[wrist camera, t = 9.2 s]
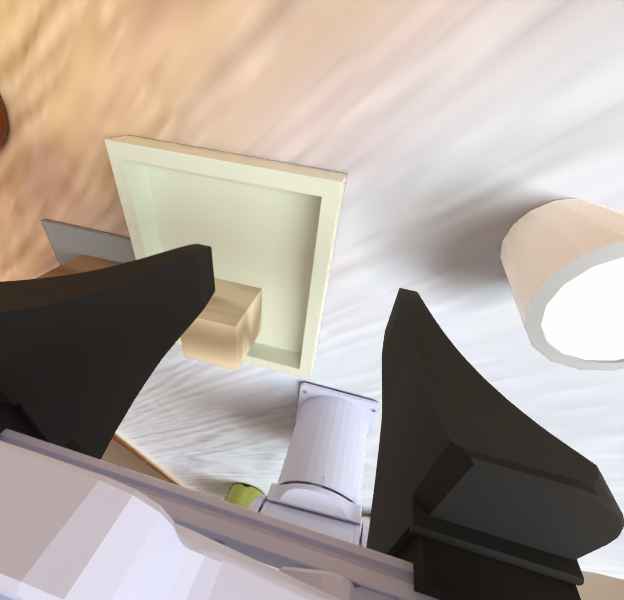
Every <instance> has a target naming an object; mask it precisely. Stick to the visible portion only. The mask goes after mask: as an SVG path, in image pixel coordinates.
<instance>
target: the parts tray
mask: <svg viewBox="0 0 624 600" xmlns="http://www.w3.org/2000/svg"><path fill="white" fill-rule="evenodd" d="M104 140H105V144H106V148H107V152H108V155H109V159H110V163H111V167H112V171H113V174H114V178H115V182H116V186H117V190H118V193H119V197H120V201H121V205H122V209H123V212H124V216H125V220H126V224H127V228H128V231H129V235H130V239H131V243H132V247H133V250H134V254H135V258H136V260H138V259H141V258H145V257H148V256H152V255H155V254H158V253H162V252H165V251H169V250H172V249H175V248H179V247H183V246H187V245H191V244H201V245H206V246H210V247H211V249H212V259H213V270H214V278H218V279H222V280H227V281H231V282H235V283H240V284H244V285H248V286H252V287H257V288H261V289H262V317H261V331H260V333H259V335H258V336H257V338H256V340H255V342H254V343H253V345H252V347H251V348H250V350H249V352H248V354H247V355H246V357H245V359H244V361H243V362H245V363H249V364H252V365H256V366H260V367H264V368H267V369H271V370H275V371H279V372H282V373H286V374H290V375H294V376H297V377H301V378H305V379H309V380H310V376H311V373H312V370H313V367H314V364H315V359H316V353H317V348H318V342H319V336H320V330H321V324H322V318H323V312H324V307H325V301H326V295H327V289H328V283H329V277H330V271H331V266H332V260H333V254H334V248H335V242H336V236H337V230H338V225H339V219H340V213H341V207H342V201H343V195H344V190H345V184H346V178H347V173H342V172H336V171H331V170H325V169H319V168H314V167H308V166H302V165H296V164H291V163H285V162H279V161H274V160H268V159H262V158H257V157H251V156H245V155H240V154H234V153H228V152H223V151H217V150H211V149H205V148H200V147H194V146H188V145H183V144H177V143H171V142H166V141H160V140H154V139H149V138H143V137H137V136H132V135H128V136H122V137H116V138H110V139H104ZM175 344H178V345H181V346H182V343H181V338H179V339H178V340H177V341H176V343H175Z"/></svg>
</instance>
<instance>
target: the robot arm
mask: <svg viewBox="0 0 624 600" xmlns="http://www.w3.org/2000/svg"><path fill="white" fill-rule="evenodd" d="M214 292H215V281H214V270H213V259H212V249H211V247H210V246H206V245H201V244H191V245H187V246H183V247H179V248H175V249H172V250H169V251H165V252H162V253H158V254H155V255H152V256H148V257H145V258H141V259H138V260H134V261H130V262H126V263H123V264H119V265H115V266H111V267H107V268H102V269H98V270H92V271H87V272H82V273H76V274H70V275H62V276H55V277H47V278H40V279H30V280H19V281H6V282H0V600H581V598H580V596H579V593H578V590H577V587H576V585H582V584H583V583H584V577H583V575H582V572H581V569H580V567H579V564H578V561H577V559H578V558H580V557H582V556H584V555H586V554H588V553H590V552H592V551H594V550H597V549H599V548H601V547H603V546H605V545H607V544H609V543H610V542H612V541H613V540H615V539H616V538H617V537H618V536H619V535H620V533H621V531H622V529H623V527H624V518H623V514H622V512H621V510H620V508H619V507H618V505H617V503H616V501H615V499H614V497H613V495H612V493H611V491H610V489H609V488H608V486H607V484H606V482H605V480H604V478H603V476H602V474H601V472H600V471H599V469H598V467H597V466H596V465H595V464H594V463H592V462H591V461H589V460H588V459H586V458H585V457H584V456H582V455H581V454H579V453H578V452H576V451H575V450H573V449H572V448H571V447H569V446H568V445H566V444H565V443H563V442H562V441H560V440H559V439H558V438H556V437H555V436H553V435H552V434H550V433H549V432H548V431H546V430H545V429H544V428H542V427H541V426H540V425H538V424H537V423H536V422H535V421H533V420H532V419H531V418H529V417H528V416H527V415H526V414H524V413H523V412H522V411H521V410H519V409H518V408H517V407H516V406H515V405H513V404H512V403H511V402H510V401H509V400H507V399H506V398H505V397H504V396H503V395H502V394H501V393H500V392H498V391H497V390H496V389H495V388H494V387H493V386H492V385H491V384H490V383H488V382H487V381H486V380H485V379H484V378H483V377H482V376H481V375H480V374H479V373H478V372H477V371H476V370H475V369H474V367H473V366H472V365H471V364H470V363H469V362H468V361H467V360H466V359H465V358H464V357H463V356H462V354H461V353H460V352H459V351H458V350H457V349H456V347H455V346H454V345H453V344H452V342H451V341H450V340H449V339H448V337H447V336H446V335H445V333H444V332H443V331H442V329H441V328H440V326H439V325H438V323H437V322H436V321H435V319H434V318H433V316H432V315H431V313H430V311H429V310H428V308H427V307H426V305H425V304H424V302H423V300H422V299H421V297H420V295H419V294H418V292H416V291H411V290H406V289H402V288H399V291H398V294H397V297H396V300H395V303H394V306H393V309H392V312H391V315H390V318H389V321H388V324H387V327H386V330H385V335H384V342H383V350H382V422H381V432H380V442H379V452H378V460H377V469H376V478H375V486H374V494H373V502H372V510H371V517H370V523H369V522H367V521H363V522H362V527H361V535H360V525H361V514H362V506H361V495H362V484H363V474H364V463H365V453H366V442H367V438H368V435H369V433H370V430H371V428H372V426H373V423H374V421H375V418H376V416H377V413H378V411H379V408H380V404H379V403H378V402H376V401H372V400H368V399H364V398H361V397H357V396H353V395H349V394H346V393H342V392H338V391H335V390H331V389H327V388H323V387H320V386H316V385H312V384H309V383H302V384H301V386H300V391H299V399H298V406H297V413H296V420H295V428H294V432H293V435H292V439H291V442H290V445H289V448H288V451H287V455H286V458H285V461H284V464H283V467H282V471H281V474H280V477H279V480H278V484H273V483H272V484H271V487H270V490H269V493H268V496H267V495H260V496H259V497H258V498H257V499H256V500H255V501H253V502H252V503H251V504H250V506H249V507H248V508H245V507H242V506H239V505H236V504H233V503H230V502H227V501H224V500H221V499H218V498H215V497H212V496H209V495H206V494H202V493H199V492H196V491H193V490H190V489H187V488H184V487H181V486H178V485H175V484H172V483H169V482H166V481H163V480H160V479H157V478H154V477H151V476H148V475H145V474H142V473H139V472H136V471H133V470H130V469H127V468H124V467H121V466H118V465H115V464H112V463H109V462H106V461H103V460H101V458H102V456H103V454H104V452H105V450H106V448H107V447H108V445H109V443H110V441H111V439H112V437H113V436H114V434H115V432H116V430H117V428H118V427H119V425H120V423H121V422H122V420H123V418H124V416H125V415H126V413H127V411H128V410H129V408H130V406H131V405H132V403H133V401H134V400H135V398H136V397H137V395H138V394H139V392H140V390H141V389H142V387H143V386H144V384H145V383H146V381H147V380H148V378H149V377H150V375H151V374H152V372H153V371H154V369H155V368H156V367H157V365H158V364H159V362H160V361H161V359H162V358H163V357H164V356H165V354H166V353H167V352H168V351H169V349H170V348H171V347H172V346H173V345H174V344H175V343H176V341H177V340H178V339H179V338H180V337H181V336H182V335H183V333H184V332H185V331H186V330H187V329H188V328H189V326H190V325H191V324H192V323H193V322H194V321H195V320H196V318H197V317H198V316H199V315H200V314H201V312H202V311H203V310H204V308H205V307H206V305H207V304H208V302H209V301H210V299H211V297H212V296H213V294H214Z"/></svg>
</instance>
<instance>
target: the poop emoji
mask: <svg viewBox="0 0 624 600" xmlns="http://www.w3.org/2000/svg"><path fill="white" fill-rule="evenodd" d="M7 132H8V120H7V115H6V111H5V108H4V105H3V102H2V99H1V97H0V146H1V145H2V144H3V142H4V141H5V139H6V136H7Z"/></svg>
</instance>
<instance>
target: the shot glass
mask: <svg viewBox="0 0 624 600" xmlns="http://www.w3.org/2000/svg"><path fill="white" fill-rule="evenodd" d="M500 258H501V261H502V264H503V267H504V270H505V273H506V275H507V278H508V281H509V284H510V287H511V290H512V293H513V295H514V298H515V301H516V304H517V307H518V310H519V312H520V315H521V318H522V321H523V324H524V327H525V329H526V332H527V334H528V337H529V340H530V342H531V345H532V346H533V347H534V348H535V349H536V350H538V351H539V352H540V353H542V354H543V355H544V356H545V357H547V358H548V359H549V360H550V361H553V362H556V363H560V364H563V365H566V366H569V367H573V368H576V369H582V370H613V371H614V370H619V369H624V213H623V212H621V211H618V210H615V209H612V208H609V207H607V206H604V205H601V204H598V203H595V202H591V201H587V200H583V199H579V198H572V199H563V200H554V201H551V202H549V203H546V204H544V205H542V206H539V207H537V208H534V209H532V210H530V211H529V212H528V213H526V214H525V215H524V216H523V217H522V218H520V219H519V220H518V221H517V222H515V223H514V224H513V225H512V227H511V228H510V230H509V232H508V233H507V235H506V236H505V238H504V239H503V241H502V248H501V254H500Z"/></svg>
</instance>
